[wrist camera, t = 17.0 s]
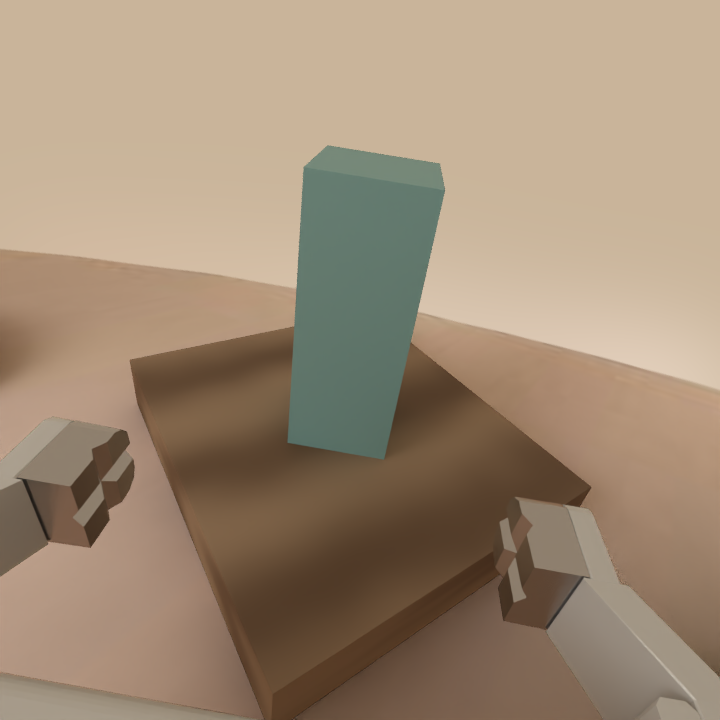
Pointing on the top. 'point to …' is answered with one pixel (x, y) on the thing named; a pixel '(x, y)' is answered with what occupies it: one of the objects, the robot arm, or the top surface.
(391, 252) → the teal block
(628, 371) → the top surface
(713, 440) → the top surface
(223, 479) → the walnut riser
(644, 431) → the top surface
